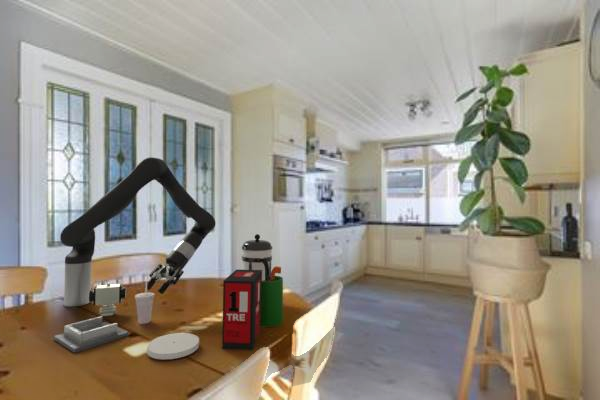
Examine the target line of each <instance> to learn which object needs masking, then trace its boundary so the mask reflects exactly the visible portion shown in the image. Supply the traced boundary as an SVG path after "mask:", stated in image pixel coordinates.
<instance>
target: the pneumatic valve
mask: <svg viewBox="0 0 600 400" xmlns="http://www.w3.org/2000/svg"><path fill="white" fill-rule="evenodd" d="M126 298H127V287H126V286H123V283H115V284H111V283H110V282H107V283H106V284H104V285H103V284H102V285H95V286H94V287H93V289H91V290H90V292H89V302H90V303H92V304H93V306H101V307H100V308H99V311H98V312H99V313H98V314H99V315H100V316H102V318H104V317H111V316H114V314H116V312H117V306H115V304H120V303H122V301H123V300H124V299H125V300H126Z"/></svg>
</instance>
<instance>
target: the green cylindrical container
mask: <svg viewBox="0 0 600 400" xmlns="http://www.w3.org/2000/svg"><path fill="white" fill-rule="evenodd" d="M276 274H282V267H281V266H274V267H273V268H271V276H267V280H264V281H262V303H261V326H266V327H265V328H270V327H269V326H274V327H276V325H278V326H280V325H282V324H283V323H282V322H284V280H283V279H284V278H283V277H282V276H281V275H276ZM281 323H282V324H281ZM279 324H280V325H279Z"/></svg>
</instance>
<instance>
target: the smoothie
mask: <svg viewBox="0 0 600 400" xmlns="http://www.w3.org/2000/svg"><path fill="white" fill-rule="evenodd" d="M147 283H148V281H145V285H146V286H145V285H144V289H145V290H144V292H141V293H137V294H135V295H134V299H135V304H136V313H137V323H138V324H139V325H140V324H141V325H145V324H149V323H150V322H151V316H152V310H153V304H154V298H155V293H153V292H149V291H148V290H147Z"/></svg>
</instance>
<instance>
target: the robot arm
mask: <svg viewBox="0 0 600 400" xmlns="http://www.w3.org/2000/svg"><path fill="white" fill-rule="evenodd" d="M152 181H156V183H158V184H160V185H161V186H162V187H163V188H164V189H165V190H166V192H167V194H168V195H169V197H170V198H171V200H172V202H173V203H174V204H175V206H176V207H177V209H179V211H181V213H182V214H183V215H184V216H185V217H187V218H188V219H193V220H194V223H195V224H194V225H193V226H192V228H191V229H190V230H189V232H188V233H187V234H185V236H184V237H183V238H182V239H181V241H179V243H177V245H175V247H174V248H173V249H172V251H171V252H170V253H169V254H168V256H167V257H166V258H165V263H164V264H161V263H158V264H157V266H155V268H154V269H153V270H152V271H151V272H150V274H149V275H148V276H149V277H150V279H149V280H148V281H147V291H150V290H151V289H152V288H153V286H154V285H155V284H156V282H158V281H159V280H162V279H165V281H163V282H162V284H161V285H160V286H159V288H158V289H157V292H158V293H159V294H160V295H162V294H164V293H165V292H166V291H167V289H168V288H169V287H170V286H175V285H176V284H177V283H178V281H179V279H180V278H181V277H182V275H183V274H184V273H185V272H184V270H183V269H185V267H186V266H187V264H188V263H189V262H190V260H191V259H192V257H193V256H194V254H195V252H196V251H197V250H198V249H199V248H200V246H201V244H202V243H203V241H204V239H205V238H206V237H208V235H209V233H210V232H211V231H212V230H213V229H214V228H215V226H216V219H215V217H214V216H213V215H212V214H211V213H210V212H209V211H207V210H206V209H205V208H203V207H202V206H200V205H199V204H198V202H196V200H195V199H194V198H193V197H192V196H191V194H189V193H188V192H187V190H185V188H184V187H183V186H182V184H181V183H180V182H179V181H178V179H177V178H176V177H175V176H174V174H173V172H172V171H171V169H170V168H169V166H168V165H167V163H166V162H165V161H164V160H163V159H161V158H159V157H154V156H153V157H150V156H149V157H146V158H144V159H142V160H140V162H139V163H138V164H137V165H136V166H135V168H133V169H132V170H131V172H130V173H129V174H128V175H127V176H126V177H125V178H124V179H122V180H121V181H120V182H119V183H117V184H116V185H115V186H114V187H113V188H112V189H110V190H108V192H106V193H105V194H104V195H103V196H102V197H101V198H100V199H98V201H97V202H95V203H94V204H93V205H92V206H91V207H90V208H89V209H88V210H86V211H85V212H84V213H83V214H82V215H80V216H79V217H78V218H77V219H75V220H73V221H72V222H71V223H69V224H68V225H66V226H65V227H64V228H63V229H62V230H61V233H60V237H59V238H60V239H59V240H60V242H61V244H62V245H64V246H66V247H70V248H71V247H72V249H71V250H70V252H69V253H68V254H66V256H65V258H64V286H63V288H64V289H63V306H64V307H79V306H84V305H88V304H89V303H91V302H89V292H90V290H92V264H93V263H92V258H93V256H94V254H95V243H96V232H95V229H96V228H97V227H99V226H100V225H102V224H103V223H106V222H108V221H109V220H111V219H113V218H115V217H117V216H118V215H119V214H120V213H122V212H123V211H125V209H126V208H128V207H129V205H130V204H132V202H133V201H134V199H135V198H136V196H137V195H138V193H139V191H140V190H142V189H144V187H145V186H146V185H148V184H149V183H151V182H152ZM145 286H146V284H144V287H145Z"/></svg>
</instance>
